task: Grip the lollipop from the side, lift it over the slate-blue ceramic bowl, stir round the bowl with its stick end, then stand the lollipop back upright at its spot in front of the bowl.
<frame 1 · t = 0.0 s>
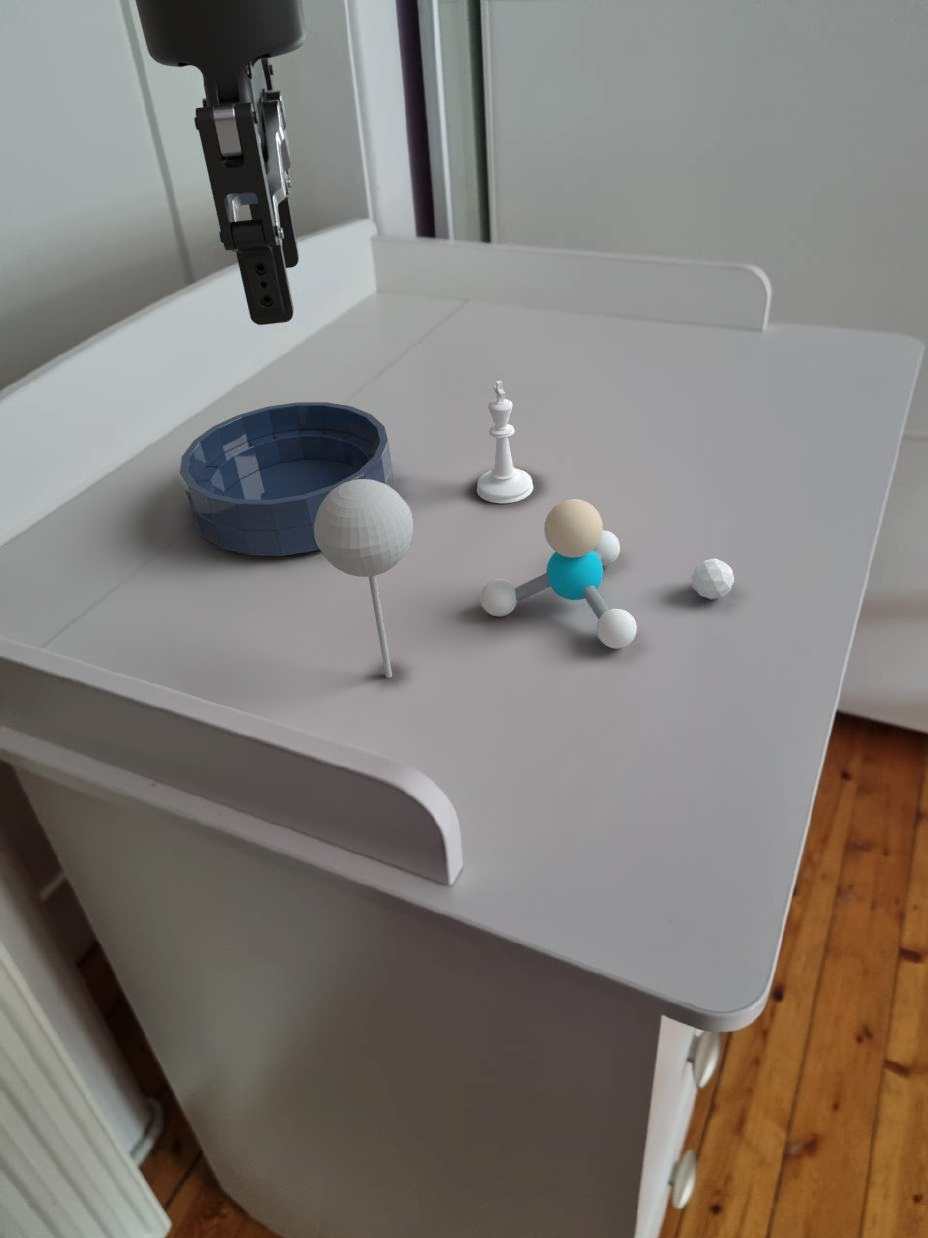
hand: (277, 292, 52), 25 cm above the table, tool pointing down, fingers open, 8 cm apart
polyhedron: (710, 597, 69), on the table
molecule model: (566, 613, 69), on the table
lollipop: (389, 677, 65), on the table
chess piece: (505, 490, 83), on the table
bowl: (296, 504, 83), on the table
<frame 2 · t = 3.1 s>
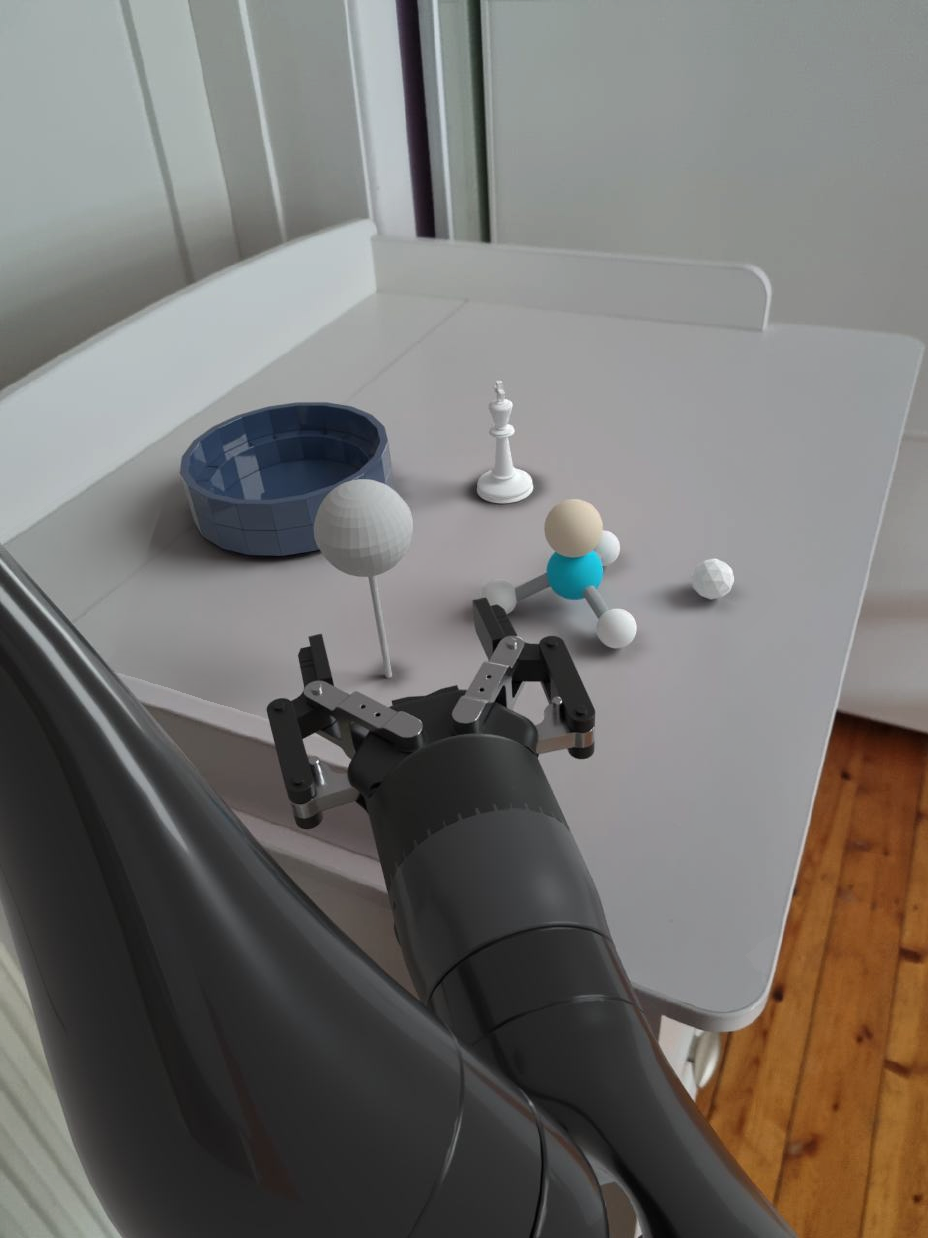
hand: (399, 629, 49), 13 cm above the table, tool horizontal, fingers open, 8 cm apart
nothing on the table moved.
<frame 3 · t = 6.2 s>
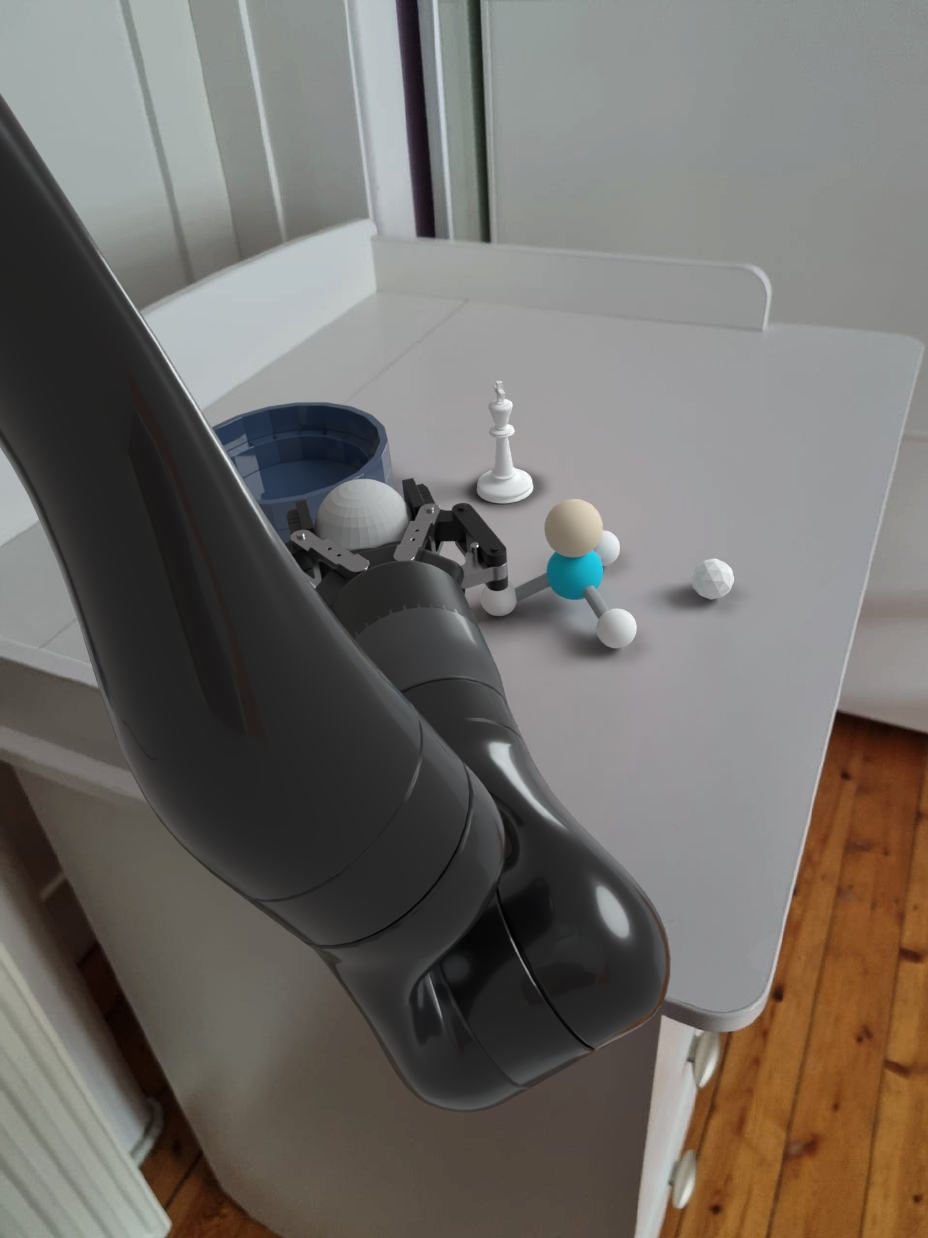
hand: (356, 502, 59), 13 cm above the table, tool horizontal, fingers closed on lollipop, 6 cm apart
lollipop: (389, 677, 65), on the table, touching gripper
everything else where it was.
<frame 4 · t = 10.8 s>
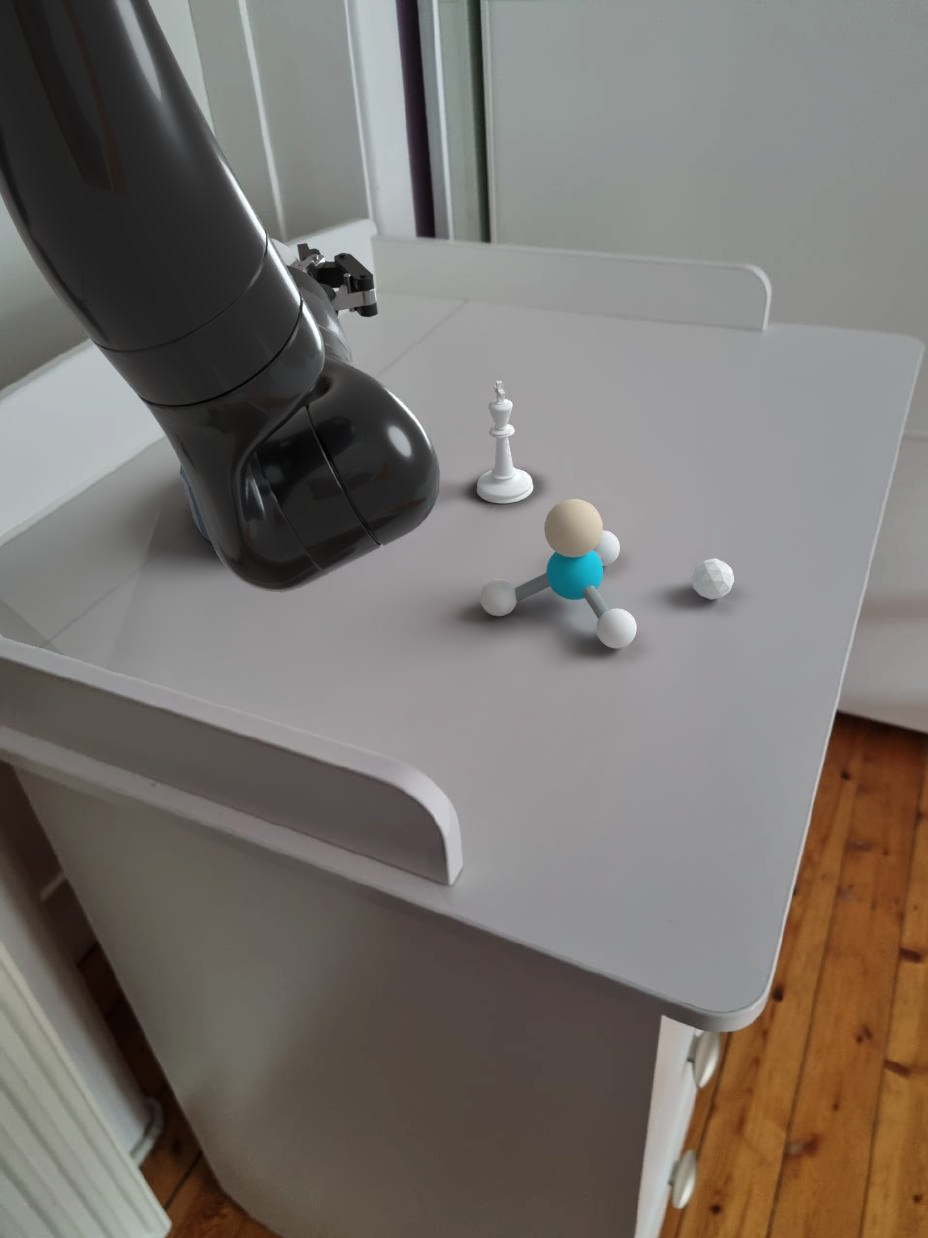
hand: (257, 265, 67), 22 cm above the table, tool horizontal, fingers closed on lollipop, 6 cm apart
lollipop: (294, 440, 73), point 9 cm above the table, touching gripper
everything else where it was.
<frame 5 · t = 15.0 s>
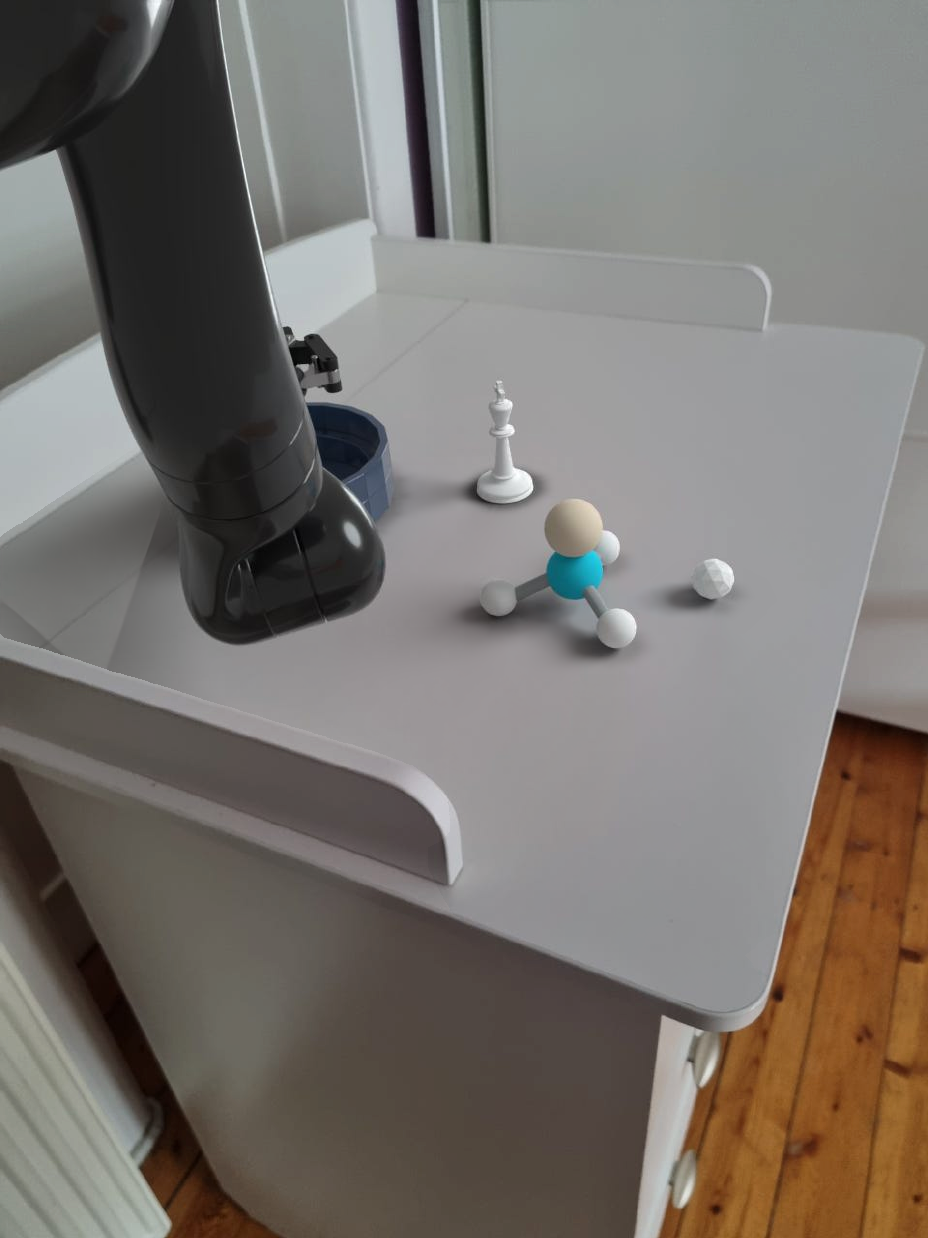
hand: (236, 341, 75), 15 cm above the table, tool horizontal, fingers closed on lollipop, 6 cm apart
lollipop: (271, 493, 81), point 2 cm above the table, touching gripper
everything else where it was.
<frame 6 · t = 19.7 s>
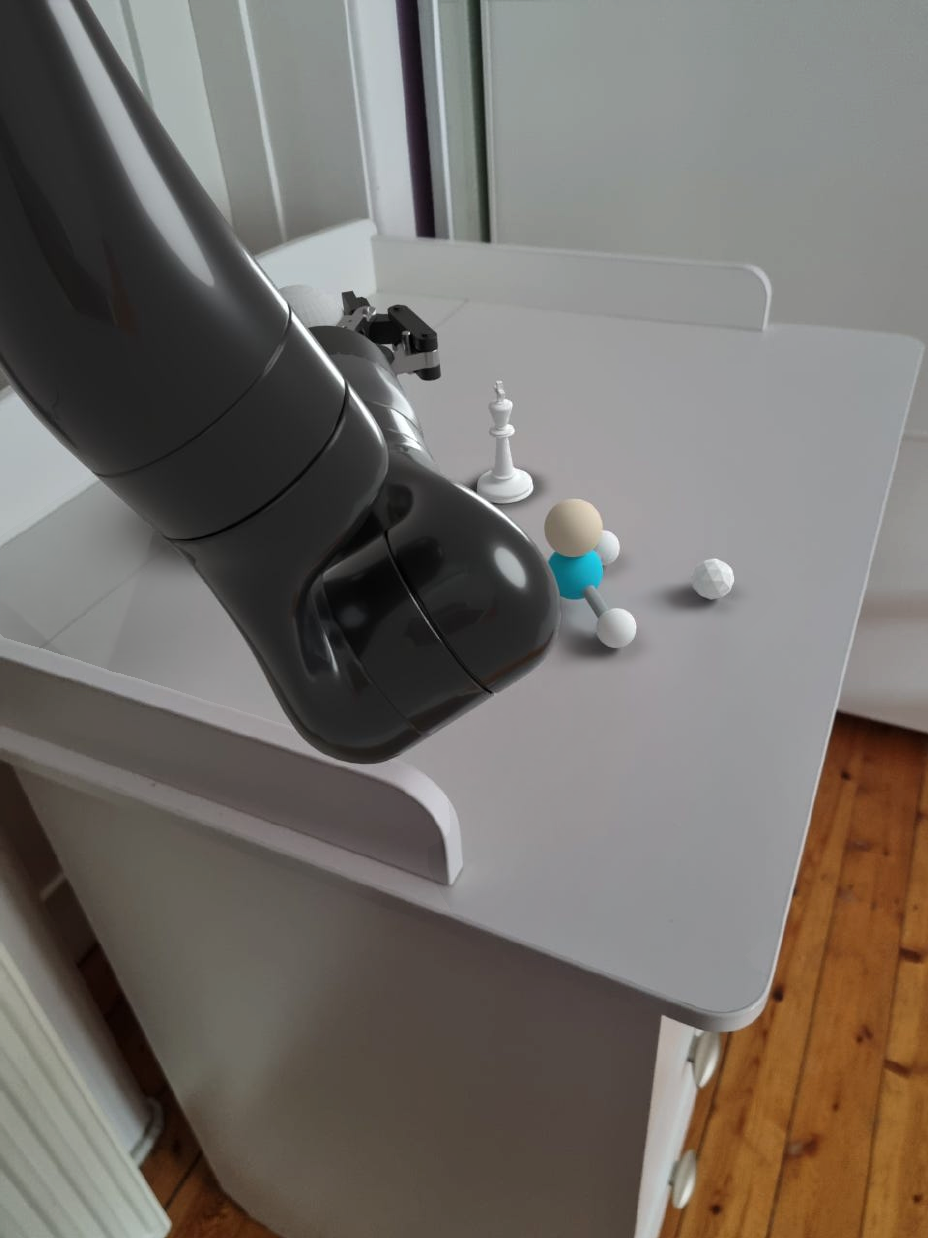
hand: (295, 315, 59), 22 cm above the table, tool horizontal, fingers closed on lollipop, 6 cm apart
lollipop: (334, 508, 65), point 9 cm above the table, touching gripper
everything else where it was.
when the fingers open (12 cm above the table, at t = 23.8 s): lollipop stays where it is, on the table.
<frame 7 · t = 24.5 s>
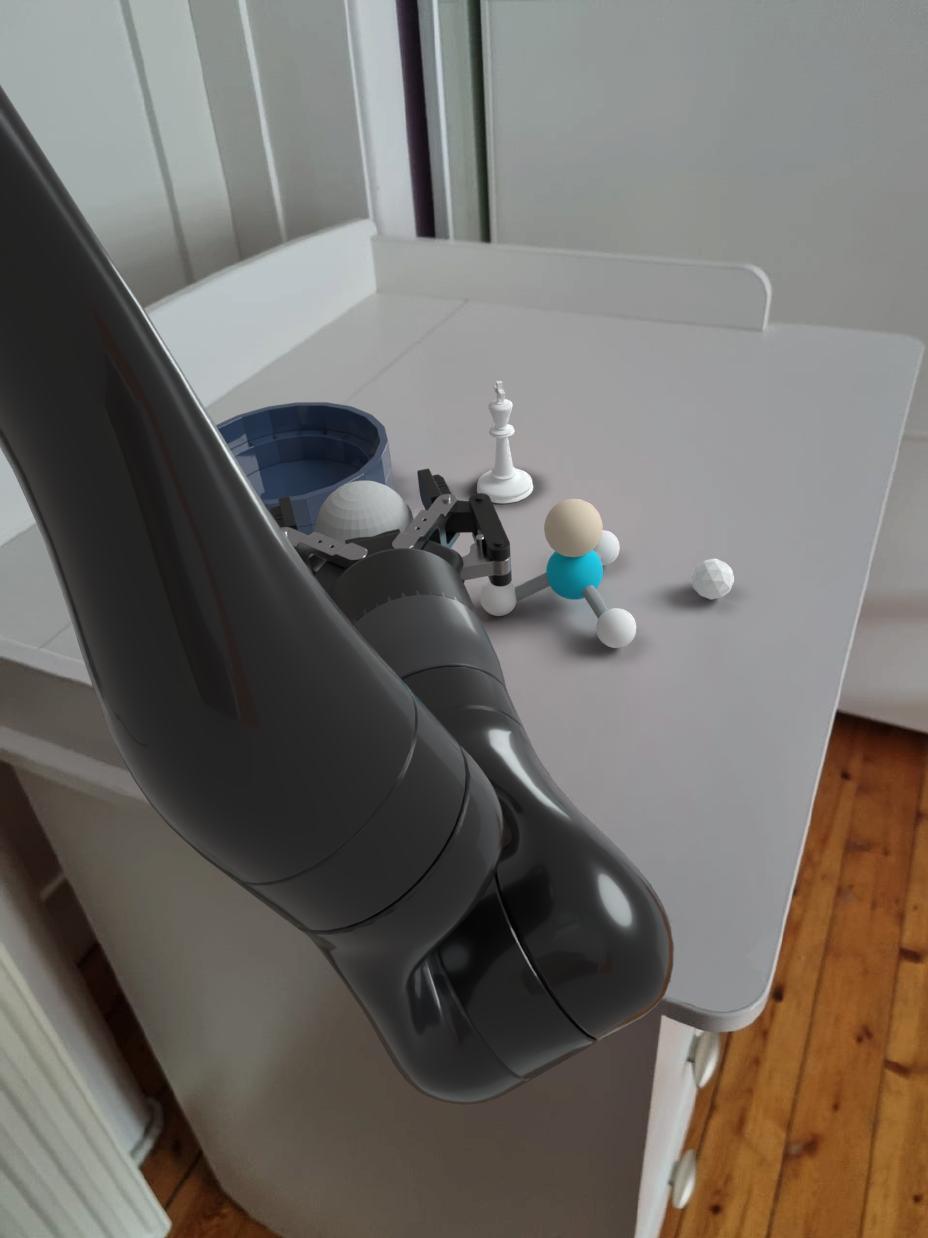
hand: (355, 495, 58), 13 cm above the table, tool horizontal, fingers open, 8 cm apart
lollipop: (389, 679, 65), on the table
everything else where it was.
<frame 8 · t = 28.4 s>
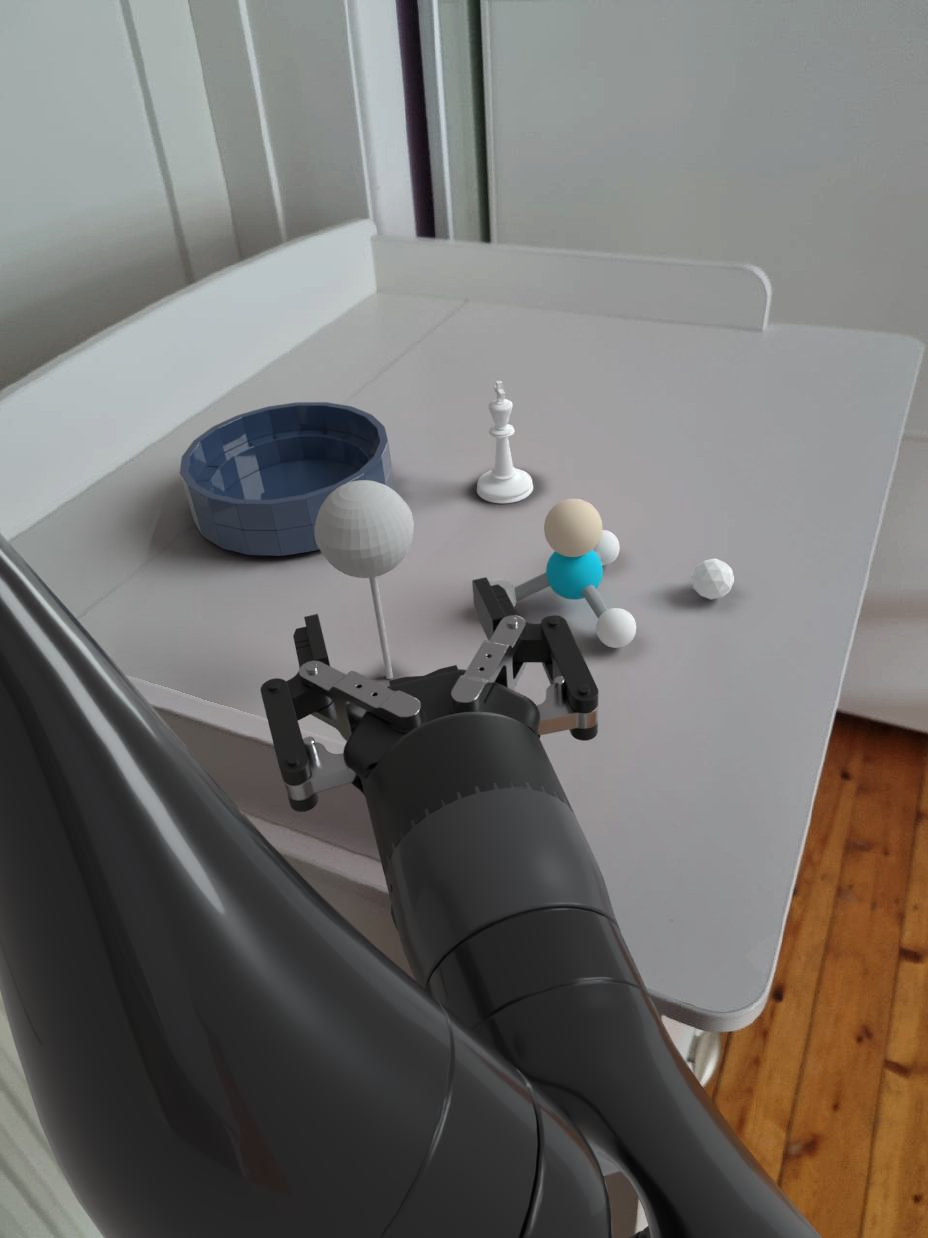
hand: (397, 610, 47), 14 cm above the table, tool horizontal, fingers open, 8 cm apart
nothing on the table moved.
at the end: lollipop inside the target area on the table beside the bowl (0.1 cm from its centre), on the table; lollipop tilted 0°; the gripper is holding nothing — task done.
